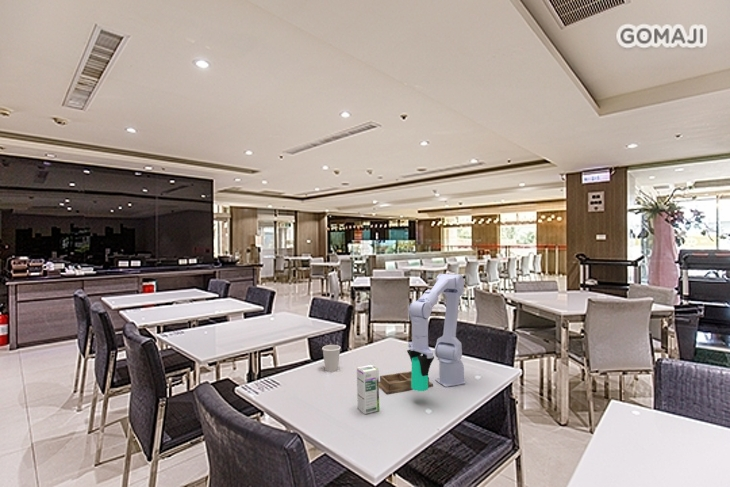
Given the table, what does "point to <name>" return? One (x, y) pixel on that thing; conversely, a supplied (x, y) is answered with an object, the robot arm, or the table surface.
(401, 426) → the table surface
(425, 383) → the candle
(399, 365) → the table surface
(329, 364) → the dixie cup
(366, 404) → the syrup box
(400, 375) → the divided wooden tray
